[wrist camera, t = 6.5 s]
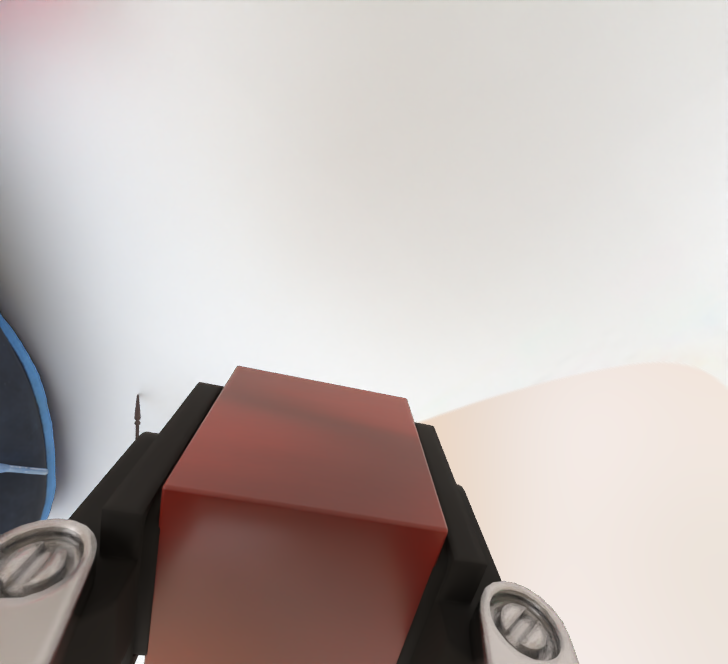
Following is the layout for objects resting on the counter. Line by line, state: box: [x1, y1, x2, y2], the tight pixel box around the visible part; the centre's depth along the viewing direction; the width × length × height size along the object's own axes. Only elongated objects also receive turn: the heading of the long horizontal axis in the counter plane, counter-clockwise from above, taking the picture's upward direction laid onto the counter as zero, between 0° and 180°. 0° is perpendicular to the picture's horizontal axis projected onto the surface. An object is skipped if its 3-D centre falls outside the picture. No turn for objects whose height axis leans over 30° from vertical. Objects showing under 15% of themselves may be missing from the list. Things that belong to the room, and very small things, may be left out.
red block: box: [144, 366, 448, 664], centre depth 8 cm, size 4×4×4 cm
